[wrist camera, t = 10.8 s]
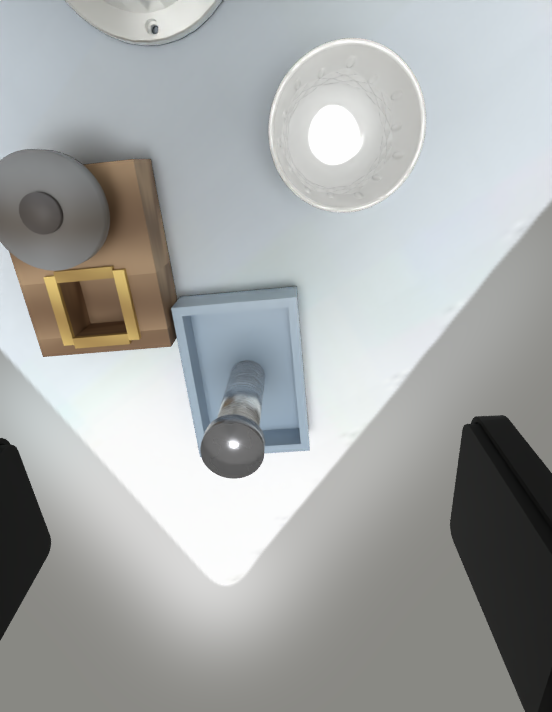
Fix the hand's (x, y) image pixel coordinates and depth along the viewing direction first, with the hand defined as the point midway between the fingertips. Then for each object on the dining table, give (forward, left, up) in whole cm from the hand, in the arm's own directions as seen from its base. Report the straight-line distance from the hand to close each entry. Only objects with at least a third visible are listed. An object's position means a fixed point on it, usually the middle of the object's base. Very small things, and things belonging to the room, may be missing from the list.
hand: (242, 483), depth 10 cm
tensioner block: (-1, -14, -28) cm, 31 cm away
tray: (+10, -4, -28) cm, 30 cm away
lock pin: (+10, -4, -27) cm, 29 cm away
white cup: (-7, +4, -28) cm, 29 cm away
